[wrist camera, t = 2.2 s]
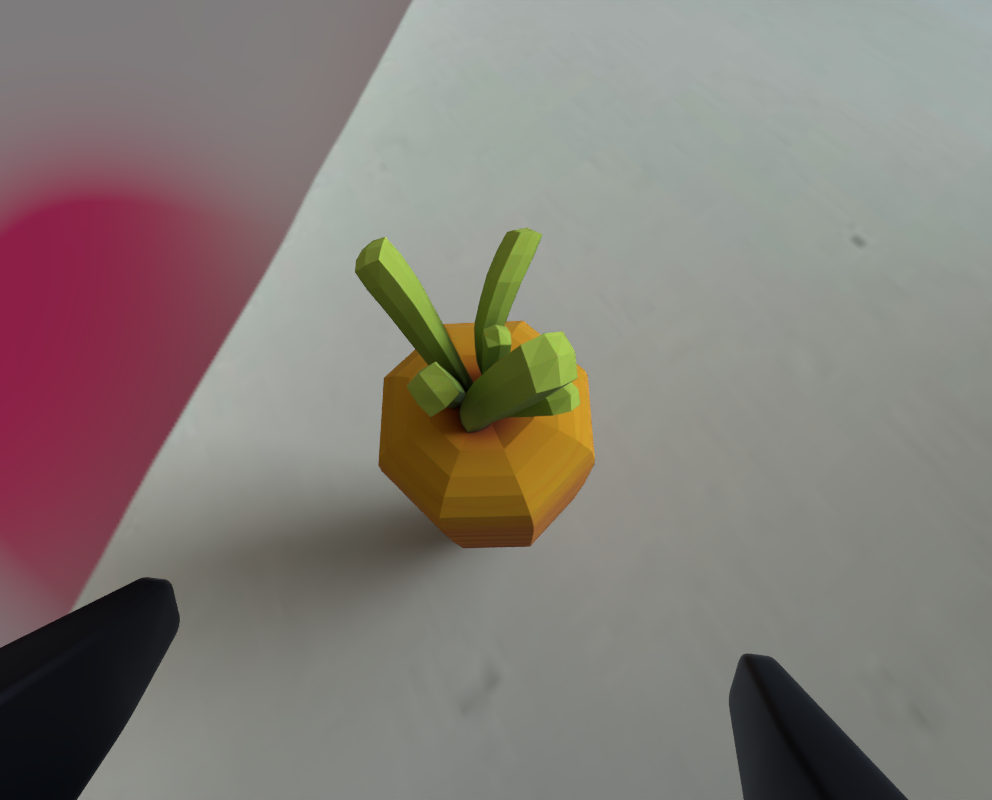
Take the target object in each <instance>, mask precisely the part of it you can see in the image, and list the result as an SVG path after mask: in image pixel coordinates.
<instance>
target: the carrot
mask: <svg viewBox="0 0 992 800" xmlns="http://www.w3.org/2000/svg"><path fill="white" fill-rule="evenodd" d="M541 237H542V234H540V233H538V232H536V231H533V230H531V229H529V228H524V229H518V230H513V231H510V232H507V233H506V235H505V237H504V239H503V240H502V242H501V244H500V246H499V248H498V249H497V252H496V254H495V256H494V259H493V261H492V264H491V266H490V268H489V271H488V273H487V276H486V280H485V284H484V287H483V291H482V294H481V298H480V301H479V306H478V311H477V315H476V320H475V323H459V324H442V322H441V320H440V318H439V316H438V314H437V313H436V311H435V309H434V307H433V305H432V303H431V301H430V300H429V298H428V296H427V294H426V292H425V290H424V288H423V287H422V285H421V283H420V281H419V280H418V278H417V277H416V276H415V274H414V273H413V271H412V270H411V268H410V267H409V265H408V264H407V262H406V261H405V260H404V258H403V257H402V255H401V254H400V253H399V252H398V251H397V249H396V248H395V247H394V246H393V245H392V244H391V243H390V242H389V241H388V240H387V238H386V237H384V238H380V239H377V240H374V241H372V242H371V243H370V244H368V245H367V246H366V247H365V248H364V249H363V250H362V251H361V253H360V254H359V256H358V258H357V260H356V268H355V273H356V274H357V276H358V277H359V279H360V280H361V282H362V283H363V284H364V286H365V287H366V289H367V290H368V291H369V292H370V294H371V295H372V296H373V297H374V298H375V300H376V301H377V302H378V303H379V304H380V305H381V307H382V308H383V309H384V310H385V311H386V313H387V314H388V315H389V316H390V318H391V319H392V320H393V321H394V323H395V324H396V325H397V326H398V328H399V329H400V330H401V331H402V333H403V334H404V335H405V337H406V338H407V339H408V340H409V342H410V343H411V344H412V345H413V347H414V348H415V350H414V351H413V352H412V353H411V354H410V355H409V356H408V357H406V358H405V359H404V360H403V361H402V362H401V363H400V364H399V365H398V366H397V367H395V368H394V369H393V370H392V371H391V372H390V373H389V374H388V375H387V376H386V377H384V386H383V402H382V418H381V434H380V450H379V467H380V469H381V471H382V472H383V473H384V474H385V475H386V476H387V477H388V478H389V479H390V480H391V481H392V482H393V483H394V484H395V485H396V486H397V487H398V488H399V489H400V490H401V491H402V492H403V493H404V494H405V495H406V496H407V497H408V498H409V499H410V500H411V501H412V502H413V503H414V504H415V505H416V506H417V507H418V508H419V509H420V510H421V511H422V512H423V513H424V514H425V515H426V516H427V517H428V518H429V519H430V520H431V521H432V522H433V523H434V524H435V525H436V526H437V527H438V528H439V529H440V530H441V531H442V532H443V533H444V534H445V535H446V536H447V537H448V538H450V539H451V540H452V541H453V542H454V543H456V544H458V545H459V546H461V547H463V548H486V547H527V546H531V545H532V544H533V543H534V541H535V540H536V539H537V538H538V537H539V536H540V535H541V534H542V533H543V532H544V531H545V529H546V528H547V527H548V526H549V525H550V524H551V523H552V522H553V521H554V520H555V519H556V517H557V516H558V515H559V514H560V513H561V512H562V511H563V510H564V509H565V508H566V507H567V505H568V504H569V503H570V502H571V501H572V500H573V499H574V498H575V496H576V495H577V493H578V492H579V490H580V489H581V487H582V486H583V485H584V483H585V481H586V479H587V477H588V475H589V473H590V471H591V469H592V468H593V466H594V462H595V456H594V445H593V433H592V421H591V409H590V398H589V386H588V376H587V374H586V372H585V370H584V369H582V368H581V367H580V366H579V365H577V364H576V356H575V351H574V350H573V348H572V346H571V344H570V343H569V341H568V339H567V338H566V336H565V334H564V333H563V331H561V332H552V333H544V334H542V335H540V334H539V333H538V332H536V331H535V330H534V329H533V328H531V327H530V326H529V325H528V324H526V323H525V322H524V321H508V322H506V320H507V317H508V314H509V312H510V309H511V306H512V304H513V302H514V299H515V297H516V294H517V292H518V289H519V287H520V284H521V282H522V280H523V278H524V276H525V274H526V271H527V269H528V267H529V265H530V263H531V261H532V259H533V257H534V254H535V252H536V249H537V247H538V244H539V242H540V239H541Z"/></svg>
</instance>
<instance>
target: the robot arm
mask: <svg viewBox="0 0 992 800" xmlns="http://www.w3.org/2000/svg"><path fill="white" fill-rule="evenodd" d="M179 623H180V616H179V612H178V607H177V603H176V599H175V595H174V590H173V587H172V584H171V583H170V582H169V581H168V580H165V579H158V578H150V577H144V578H140V579H138V580H136V581H134V582H132V583H130V584H128V585H126V586H124V587H122V588H120V589H118V590H116V591H114V592H112V593H110V594H108V595H106V596H104V597H102V598H100V599H98V600H96V601H94V602H92V603H90V604H88V605H86V606H84V607H82V608H80V609H78V610H76V611H74V612H72V613H70V614H68V615H65V616H63V617H61V618H59V619H58V620H55V621H54V622H51V623H49V624H47V625H45V626H44V627H41V628H39V629H37V630H35V631H34V632H31V633H30V634H27V635H25V636H23V637H21V638H19V639H17V640H15V641H13V642H11V643H9V644H7V645H5V646H3V647H1V648H0V800H77V799H78V797H79V796H80V794H81V793H82V791H83V790H84V788H85V787H86V785H87V784H88V782H89V781H90V779H91V778H92V776H93V775H94V773H95V772H96V770H97V769H98V767H99V766H100V764H101V763H102V761H103V760H104V758H105V757H106V755H107V754H108V752H109V751H110V749H111V748H112V746H113V745H114V743H115V742H116V740H117V738H118V737H119V735H120V734H121V732H122V731H123V729H124V727H125V726H126V724H127V722H128V721H129V719H130V717H131V715H132V714H133V712H134V710H135V709H136V707H137V705H138V703H139V701H140V699H141V698H142V696H143V694H144V692H145V690H146V688H147V687H148V685H149V683H150V681H151V679H152V677H153V676H154V674H155V672H156V670H157V668H158V666H159V665H160V663H161V661H162V659H163V657H164V655H165V654H166V652H167V650H168V648H169V646H170V644H171V643H172V641H173V639H174V637H175V635H176V633H177V631H178V628H179ZM729 708H730V715H731V721H732V728H733V734H734V740H735V747H736V753H737V760H738V766H739V772H740V779H741V785H742V791H743V798H744V800H908V799H907V798H906V797H905V796H904V795H903V794H902V793H901V792H900V791H899V789H898V788H897V787H896V786H895V785H894V784H893V783H892V782H891V781H890V780H889V779H888V778H887V777H886V776H885V775H884V774H883V773H882V772H881V771H880V769H879V768H878V767H877V766H876V765H875V764H874V763H873V762H872V761H871V760H870V759H869V758H868V757H867V756H866V755H865V754H864V753H863V752H862V751H861V749H860V748H859V747H858V746H857V745H856V744H855V743H854V742H853V741H852V740H851V739H850V738H849V737H848V736H847V735H846V734H845V733H844V732H843V731H842V729H841V728H840V727H839V726H838V725H837V724H836V723H835V722H834V721H833V720H832V719H831V718H830V717H829V716H828V715H827V714H826V713H825V712H824V711H823V709H822V708H821V707H820V706H819V705H818V704H817V703H816V702H815V701H814V700H813V699H812V698H811V697H810V696H809V695H808V694H807V693H806V692H805V691H804V689H803V688H802V687H801V686H800V685H799V684H798V683H797V682H796V681H795V680H794V679H793V678H792V677H791V676H790V675H789V674H788V673H787V672H786V671H785V669H784V668H783V667H782V666H781V665H780V664H779V663H778V662H777V661H776V660H775V659H773V658H772V657H769V656H763V655H756V654H748V653H747V654H743V655H742V656H741V658H740V660H739V663H738V666H737V669H736V673H735V676H734V679H733V683H732V686H731V689H730V694H729Z"/></svg>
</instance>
